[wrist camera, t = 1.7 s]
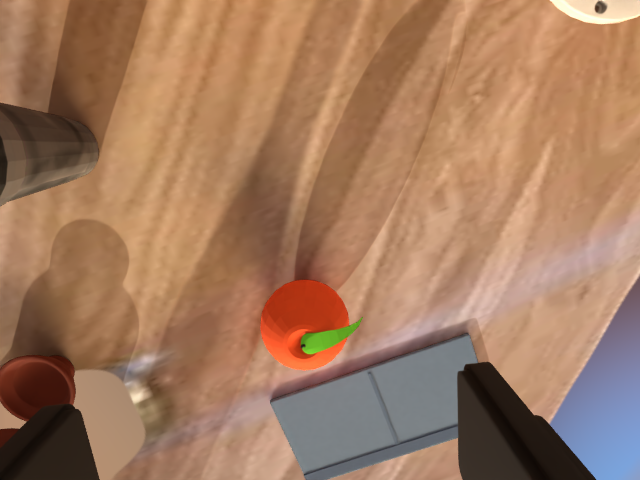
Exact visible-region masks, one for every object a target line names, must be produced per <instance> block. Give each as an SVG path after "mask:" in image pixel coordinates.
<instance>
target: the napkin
mask: <svg viewBox="0 0 640 480" xmlns="http://www.w3.org/2000/svg"><path fill="white" fill-rule="evenodd" d="M472 363H478V360H477V357H476V354H475V351H474V348H473V344H472V341H471V338H470V335H469V334H468V333H466V334H464V335H461V336H458V337H455V338H452V339H449V340H446V341H443V342H440V343H437V344H434V345H431V346H428V347H425V348H422V349H419V350H416V351H413V352H410V353H408V354H405V355H402V356H399V357H396V358H393V359H390V360H387V361H384V362H381V363H378V364H375V365H372V366H369V367H366V368H363V369H360V370H357V371H354V372H351V373H349V374H346V375H343V376H340V377H337V378H334V379H331V380H328V381H325V382H322V383H319V384H316V385H313V386H310V387H307V388H304V389H301V390H298V391H295V392H292V393H290V394H287V395H284V396H281V397H278V398H275V399H272V400H270V404H271V406H272V408H273V410H274V412H275V414H276V416H277V418H278V420H279V423H280V425H281V427H282V429H283V431H284V433H285V435H286V437H287V440H288V442H289V444H290V446H291V448H292V450H293V452H294V454H295V457H296V459H297V461H298V463H299V465H300V467H301V469H302V471H303V473H304V477H305V479H306V480H327V479H330V478H334V477H337V476H340V475H343V474H346V473H349V472H352V471H356V470H359V469H362V468H365V467H368V466H371V465H374V464H378V463H381V462H384V461H387V460H390V459H393V458H396V457H399V456H403V455H406V454H409V453H412V452H415V451H418V450H421V449H425V448H428V447H431V446H434V445H437V444H440V443H443V442H447V441H450V440H453V439H456V438H458V398H457V373H458V371H463V370H464V366H465V365H466V364H472Z"/></svg>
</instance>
